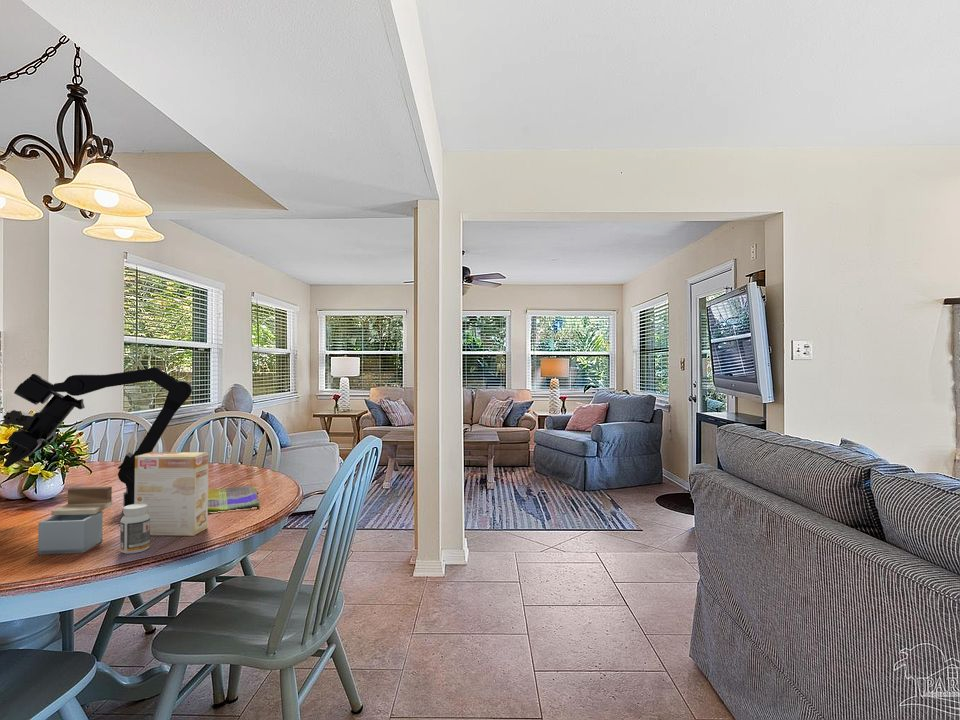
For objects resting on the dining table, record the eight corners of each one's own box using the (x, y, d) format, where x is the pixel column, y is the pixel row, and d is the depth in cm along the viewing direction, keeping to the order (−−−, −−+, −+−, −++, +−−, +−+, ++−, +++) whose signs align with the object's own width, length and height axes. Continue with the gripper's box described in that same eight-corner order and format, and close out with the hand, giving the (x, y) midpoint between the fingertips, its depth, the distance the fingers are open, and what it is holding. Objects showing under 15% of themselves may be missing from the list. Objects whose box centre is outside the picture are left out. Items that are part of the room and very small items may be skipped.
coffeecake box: (208, 527, 139) (209, 451, 139) (193, 536, 132) (195, 456, 132) (150, 527, 139) (151, 451, 139) (132, 536, 132) (133, 455, 132)
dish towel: (192, 517, 150) (192, 507, 150) (198, 497, 172) (198, 488, 172) (260, 511, 157) (260, 501, 157) (257, 492, 179) (258, 484, 179)
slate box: (59, 542, 127) (60, 512, 127) (102, 540, 128) (102, 511, 128) (37, 554, 119) (38, 522, 119) (83, 552, 120) (84, 520, 120)
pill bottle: (155, 545, 125) (155, 502, 125) (140, 554, 119) (141, 509, 120) (129, 545, 125) (130, 502, 125) (113, 554, 119) (114, 509, 119)
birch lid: (71, 506, 131) (71, 487, 131) (112, 505, 133) (112, 486, 133) (51, 515, 123) (51, 495, 123) (94, 514, 125) (95, 494, 125)
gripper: (33, 396, 154) (-8, 443, 150) (10, 400, 137) (-36, 453, 133) (73, 417, 158) (34, 463, 154) (55, 423, 141) (11, 476, 137)
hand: (11, 463), depth 144 cm, fingers open, 9 cm apart
